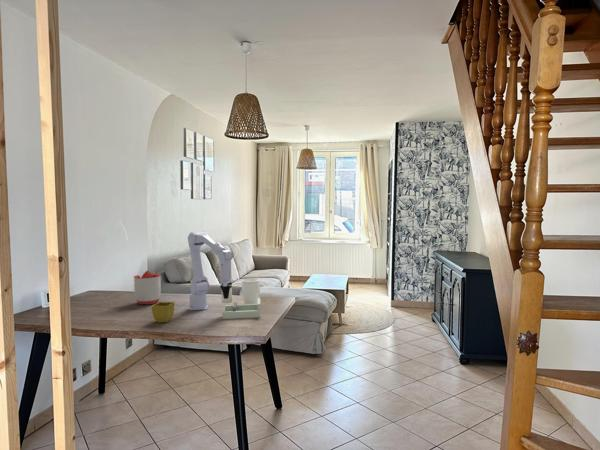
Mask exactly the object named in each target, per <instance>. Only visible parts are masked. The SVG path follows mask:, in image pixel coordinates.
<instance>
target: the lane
mask: <svg viewBox="0 0 600 450" xmlns="http://www.w3.org/2000/svg"><path fill="white" fill-rule="evenodd" d="M233 306H234V304H227V305H225V306H224V311H222V320H227V319H228V320H229V319H231V320H233V319H252V318H253V319H254V318H261V317H262V316H261V315H262V314H261V312H262V311H261V309H262V308H261V297H259V298H258V301H257V304H246V305H244V304H237V311H233Z"/></svg>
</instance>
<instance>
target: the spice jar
mask: <svg viewBox="0 0 600 450" xmlns="http://www.w3.org/2000/svg"><path fill="white" fill-rule="evenodd" d="M227 285H228V286H231V287H230V290H229V297H228V299H224V296H223V292H222V289H221V288H220V289H221V290H220V291H221V303H222V304H230V303H233V291H232V290H233V289H232V288H233V283H232V284H227Z"/></svg>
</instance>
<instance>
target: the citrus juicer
mask: <svg viewBox="0 0 600 450" xmlns="http://www.w3.org/2000/svg"><path fill="white" fill-rule="evenodd" d="M161 276H162V274H160V273H151V271H148V270H146V271H145V272H144V273H143V274H142V275H139V274H137V275H133V283H134V296H135V299H136V302H137V303H139V304H138V305H143V304H147V305H154V304H156V302H157V303H158V302H160V301H159V300H160V296H161V291H162V288H161V286H162V283H161V281H162V280H161Z"/></svg>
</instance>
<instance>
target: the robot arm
mask: <svg viewBox="0 0 600 450" xmlns="http://www.w3.org/2000/svg"><path fill="white" fill-rule="evenodd" d="M187 242H188V243H187V244H188V248H189V252H190V259H191V265H192V272H193V278H192V279H191V280H190V287H189V289H190V292H191V293H190V294H189V311H201V310H204V311H206V310H208V308H209V305H208V302H207V299H208V298H207V296H208V295H207V293H208V291H209V290H210V287H211V286H210V282H209V281H208V277H206V276H205V275H204V270H203V264H202V257H201V252H200V249H201V247H202V246H204V244H205V245H206V246H208V247H209V248H210V250H211V252H212V253H213V254H215V255H216V256H217V259H218V261H219V264H220V265H219V266H220V267H219V268H220V280H219V281H220V286H219V287H220V289H222V292H223V296H224V299H228V297H229V290H230V287H231V286H228V285H227V284H232V285H233V282H234V281H235V280H234V279H232V260H233V258H234V253H233V250H232V249H229V248H228V249H227V248H226V247H224V246H223V245H222V244H221V243H220V242H215V241H214V240H213V239H212V238H211V237H210V236H209V233H207V232H206V231H198V232H197V231H196V232H190V233H188V236H187Z"/></svg>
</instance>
